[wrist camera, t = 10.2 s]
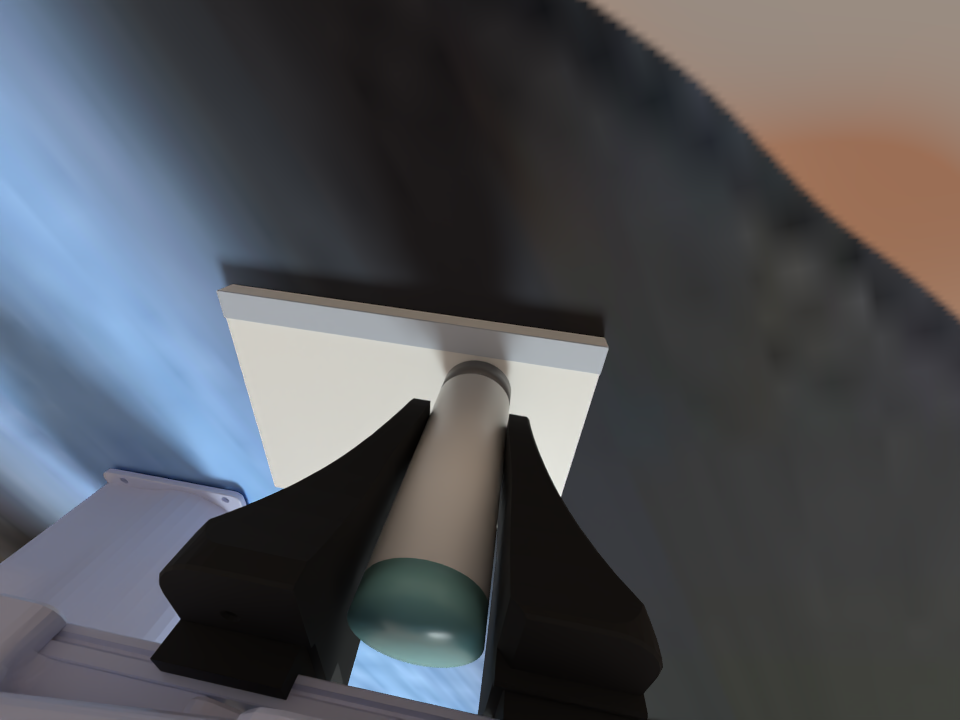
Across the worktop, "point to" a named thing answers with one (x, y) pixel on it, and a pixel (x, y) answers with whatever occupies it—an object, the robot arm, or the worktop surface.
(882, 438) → the worktop surface
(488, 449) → the marker
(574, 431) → the notepad
